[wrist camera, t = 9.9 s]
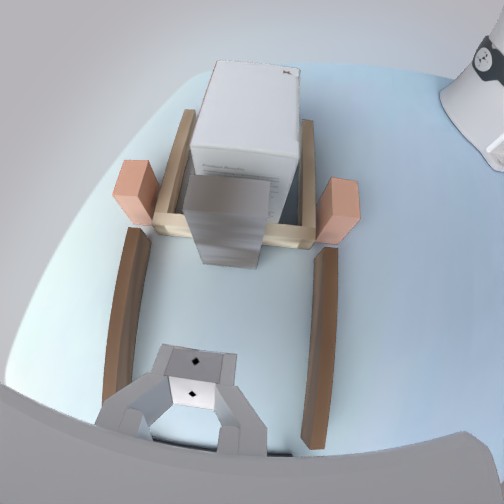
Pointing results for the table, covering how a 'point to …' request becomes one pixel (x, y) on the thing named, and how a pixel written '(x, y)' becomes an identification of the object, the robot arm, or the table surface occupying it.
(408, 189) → the table surface
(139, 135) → the table surface
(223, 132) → the small box
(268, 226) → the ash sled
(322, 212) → the posts
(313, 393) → the walnut channel
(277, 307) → the table surface
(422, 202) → the table surface
